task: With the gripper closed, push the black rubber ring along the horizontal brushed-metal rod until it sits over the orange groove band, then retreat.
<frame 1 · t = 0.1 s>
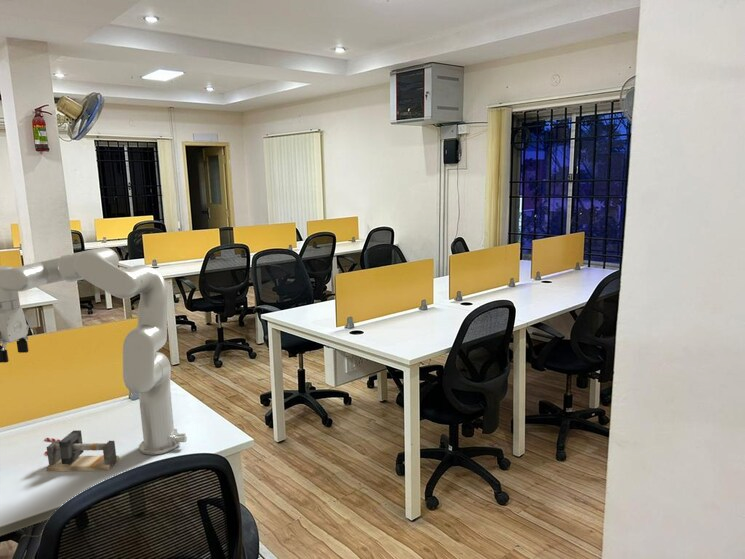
hand: (13, 357, 175), 31 cm above the table, fingers open, 9 cm apart
candy cane: (53, 448, 181), on the table
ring: (71, 447, 167), point 6 cm above the table, slide at 0.0 cm
rail fixture: (83, 464, 168), on the table
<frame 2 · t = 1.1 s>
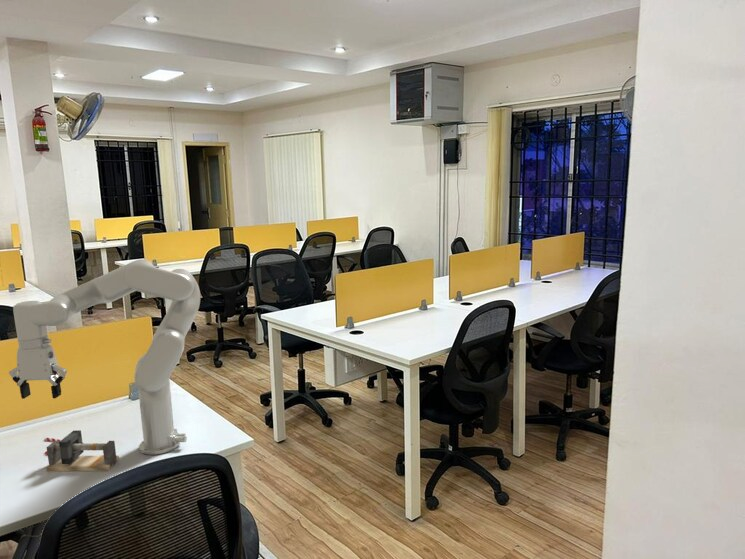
hand: (41, 396, 165), 22 cm above the table, fingers open, 9 cm apart
nothing on the table moved.
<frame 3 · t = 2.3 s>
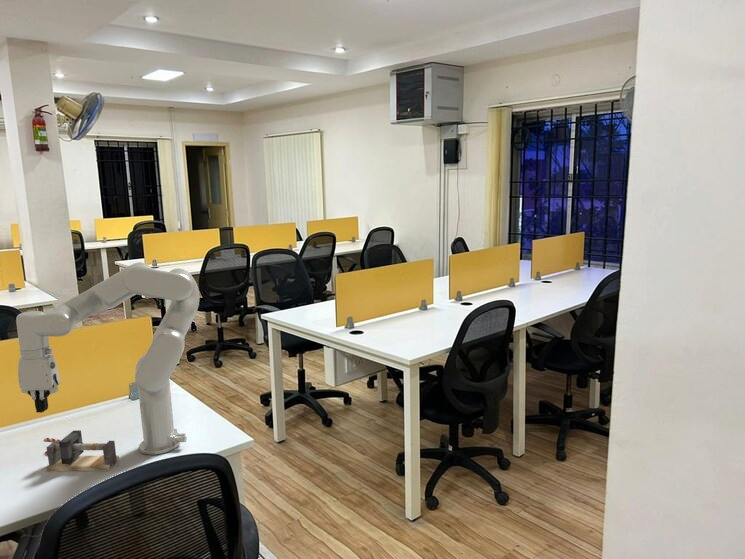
hand: (42, 410, 165), 18 cm above the table, fingers closed
nothing on the table moved.
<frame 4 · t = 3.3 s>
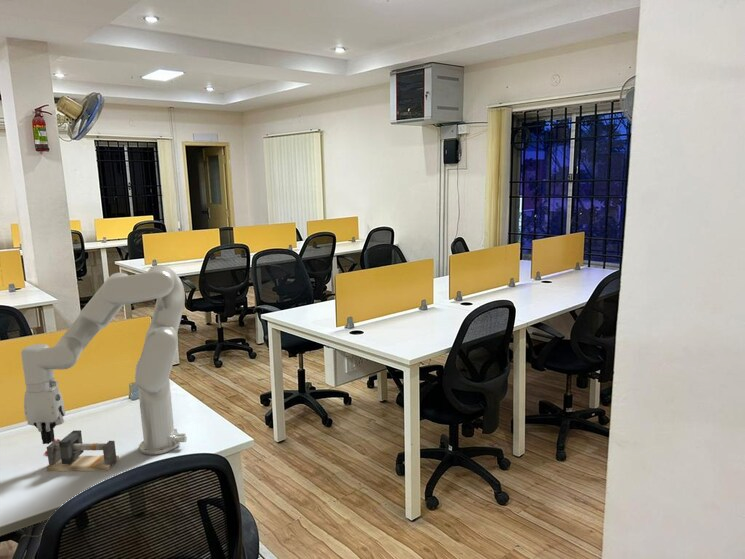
hand: (48, 441, 167), 8 cm above the table, fingers closed
nothing on the table moved.
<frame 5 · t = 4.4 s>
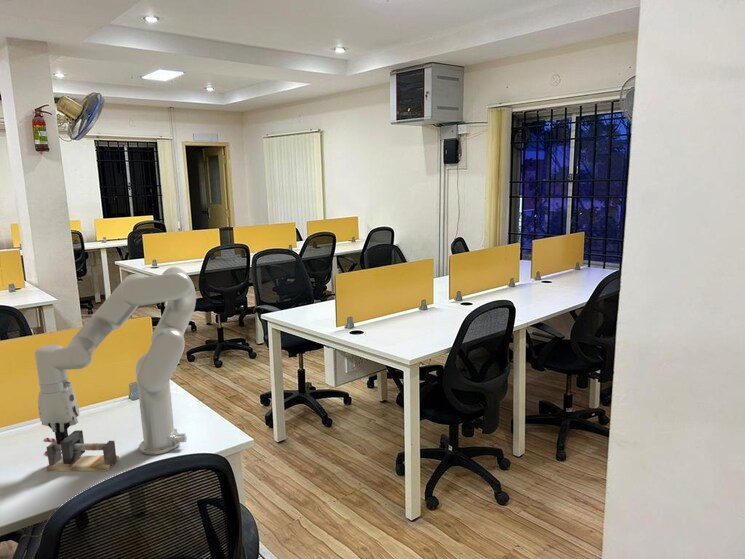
hand: (62, 442, 167), 8 cm above the table, fingers closed
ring: (73, 447, 167), point 6 cm above the table, slide at 0.5 cm, touching gripper
everything else where it was.
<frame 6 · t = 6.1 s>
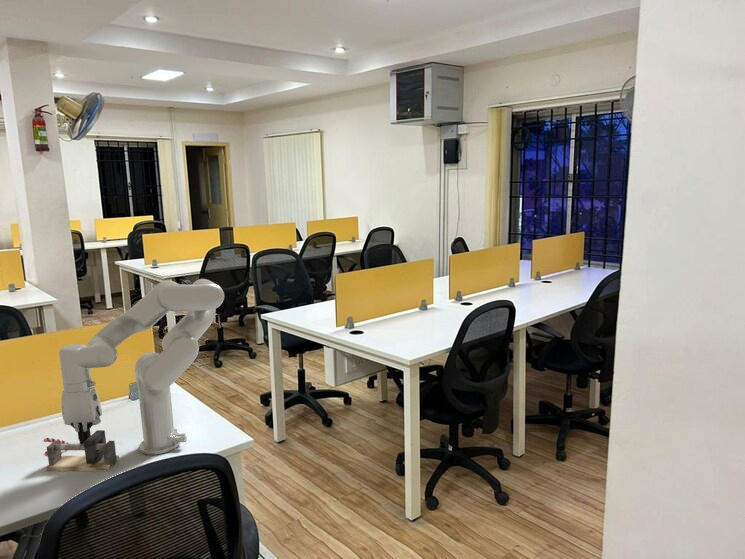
hand: (85, 441, 167), 8 cm above the table, fingers closed
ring: (95, 446, 167), point 6 cm above the table, slide at 7.6 cm, touching gripper
everything else where it was.
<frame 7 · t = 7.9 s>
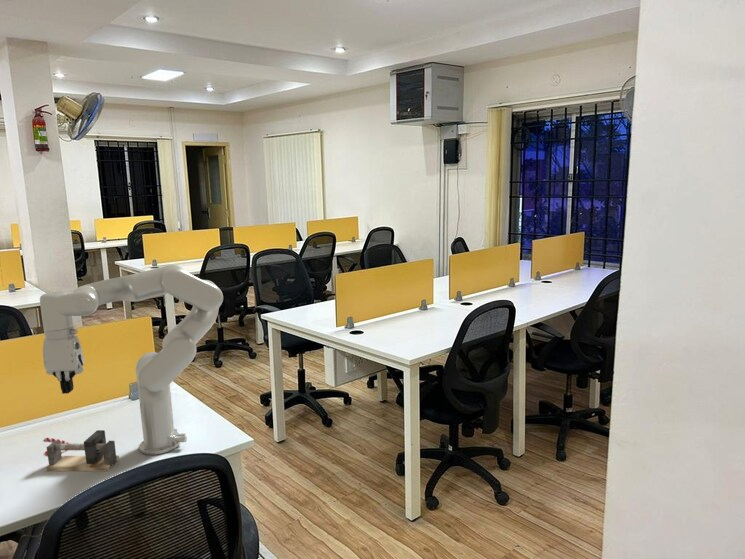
hand: (67, 391, 165), 24 cm above the table, fingers closed
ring: (95, 446, 167), point 6 cm above the table, slide at 7.6 cm
everything else where it was.
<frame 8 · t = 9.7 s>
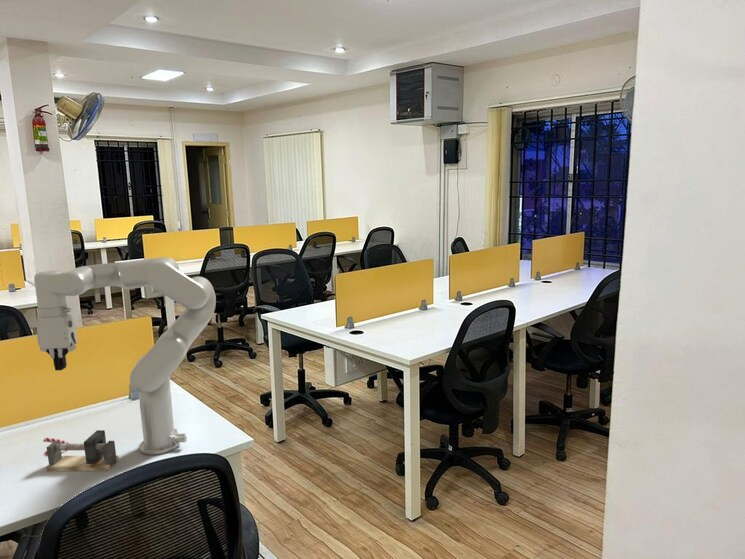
hand: (60, 368, 169), 29 cm above the table, fingers closed
nothing on the table moved.
at the end: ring slide at 7.6 cm; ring touching nothing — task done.
